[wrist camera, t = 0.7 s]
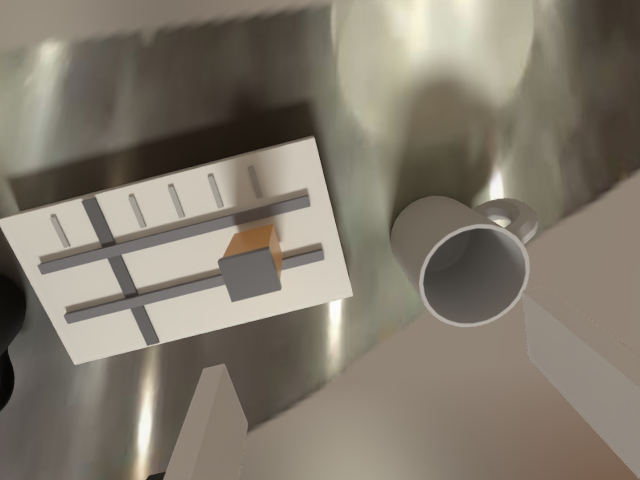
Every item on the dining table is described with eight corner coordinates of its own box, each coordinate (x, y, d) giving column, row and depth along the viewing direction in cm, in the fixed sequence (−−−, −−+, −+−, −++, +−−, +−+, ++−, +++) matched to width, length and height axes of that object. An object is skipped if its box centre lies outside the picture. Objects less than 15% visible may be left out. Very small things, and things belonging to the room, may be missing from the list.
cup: (372, 226, 33) (398, 266, 25) (476, 156, 32) (541, 174, 24) (415, 288, 35) (452, 345, 27) (514, 226, 34) (586, 265, 26)
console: (89, 347, 36) (71, 368, 33) (19, 211, 31) (-9, 222, 29) (349, 283, 35) (354, 298, 32) (313, 135, 31) (314, 138, 28)
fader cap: (243, 266, 30) (231, 302, 25) (232, 232, 29) (217, 262, 24) (284, 256, 30) (281, 290, 25) (274, 222, 29) (268, 249, 24)
